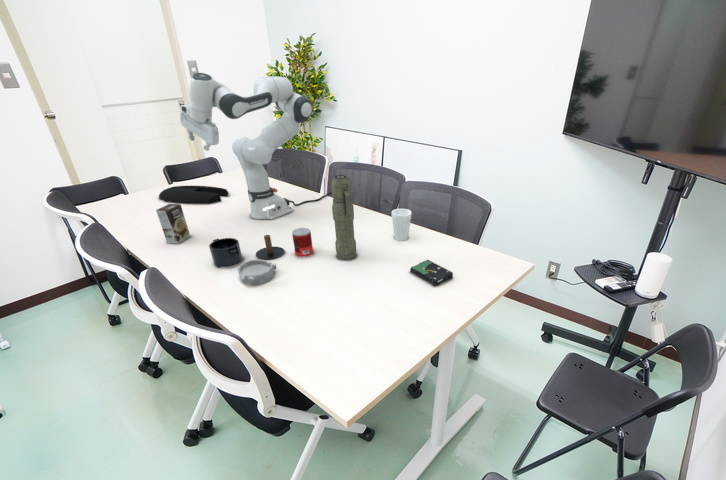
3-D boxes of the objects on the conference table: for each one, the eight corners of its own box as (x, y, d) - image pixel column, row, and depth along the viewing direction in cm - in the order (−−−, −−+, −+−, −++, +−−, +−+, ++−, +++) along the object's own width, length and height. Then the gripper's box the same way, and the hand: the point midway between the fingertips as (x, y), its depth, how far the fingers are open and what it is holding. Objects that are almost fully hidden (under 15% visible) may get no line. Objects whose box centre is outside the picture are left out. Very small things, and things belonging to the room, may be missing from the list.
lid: (275, 246, 181) (272, 227, 176) (290, 254, 174) (287, 235, 168) (250, 254, 173) (246, 236, 168) (265, 264, 166) (261, 244, 161)
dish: (255, 290, 149) (253, 279, 146) (231, 280, 155) (228, 269, 152) (283, 274, 159) (281, 263, 156) (260, 265, 165) (258, 254, 162)
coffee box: (178, 244, 181) (167, 211, 172) (166, 243, 182) (154, 209, 173) (191, 236, 189) (181, 204, 180) (179, 235, 190) (169, 203, 181)
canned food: (316, 251, 176) (313, 228, 170) (307, 259, 170) (304, 235, 164) (301, 248, 178) (298, 226, 172) (292, 256, 172) (288, 233, 166)
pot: (232, 251, 176) (227, 233, 171) (250, 263, 166) (246, 245, 162) (207, 259, 169) (201, 241, 164) (225, 273, 159) (220, 254, 155)
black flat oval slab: (175, 188, 248) (172, 181, 245) (235, 192, 244) (233, 184, 241) (149, 202, 228) (146, 193, 225) (213, 206, 223) (211, 197, 220)
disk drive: (453, 278, 158) (427, 264, 167) (453, 272, 156) (427, 258, 165) (435, 287, 152) (409, 272, 161) (435, 281, 150) (409, 266, 159)
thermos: (345, 263, 167) (339, 182, 147) (331, 254, 174) (322, 175, 155) (362, 257, 172) (358, 178, 152) (347, 248, 179) (341, 171, 160)
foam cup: (413, 235, 191) (414, 210, 184) (406, 243, 184) (406, 217, 177) (396, 232, 195) (396, 207, 187) (388, 239, 188) (388, 213, 180)
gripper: (223, 125, 169) (221, 155, 177) (190, 103, 173) (189, 133, 181) (211, 126, 164) (209, 156, 173) (177, 103, 168) (177, 134, 176)
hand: (199, 144), depth 177 cm, fingers open, 8 cm apart
